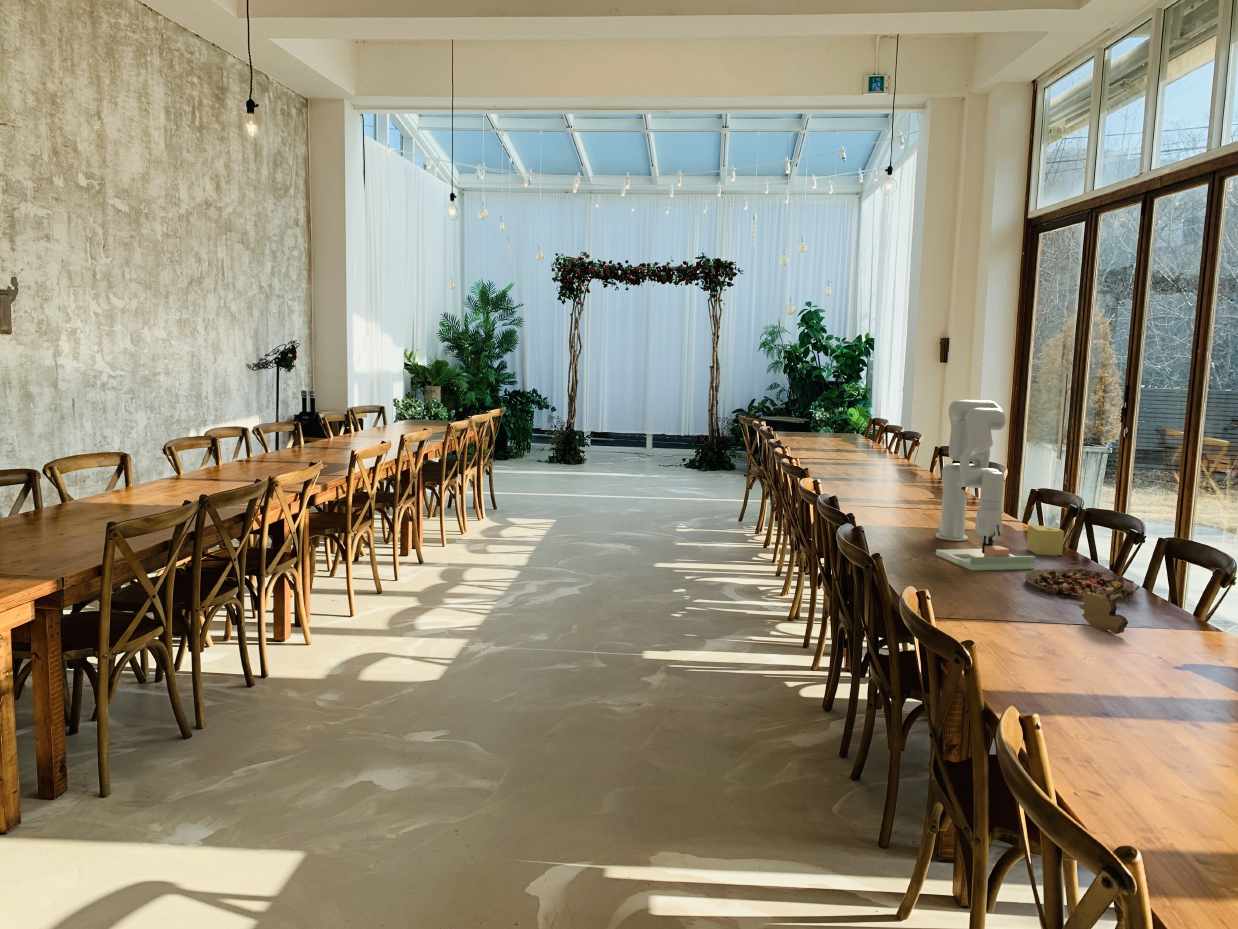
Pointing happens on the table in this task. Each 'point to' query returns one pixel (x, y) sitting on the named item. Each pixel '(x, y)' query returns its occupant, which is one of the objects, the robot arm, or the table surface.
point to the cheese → (1045, 540)
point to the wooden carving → (1103, 613)
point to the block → (996, 551)
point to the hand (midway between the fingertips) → (986, 553)
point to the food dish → (1078, 584)
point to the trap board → (985, 560)
